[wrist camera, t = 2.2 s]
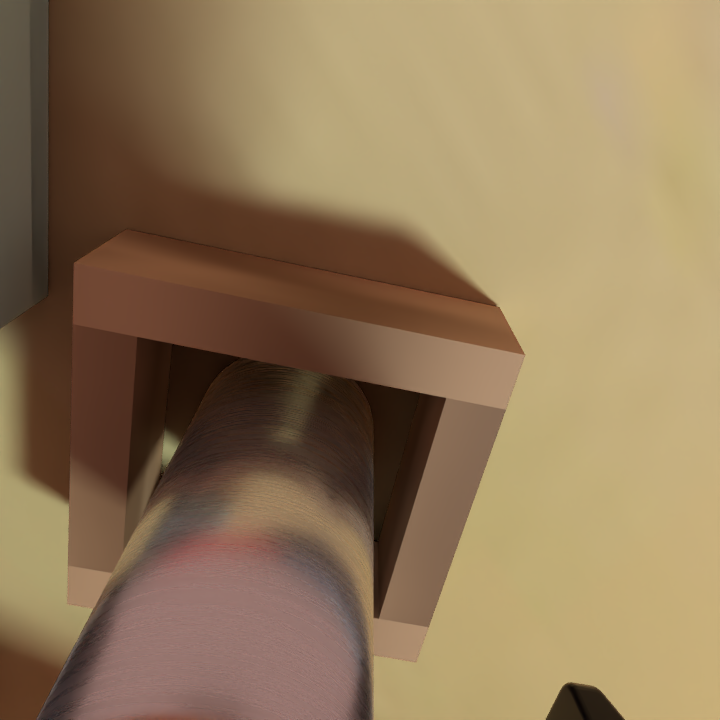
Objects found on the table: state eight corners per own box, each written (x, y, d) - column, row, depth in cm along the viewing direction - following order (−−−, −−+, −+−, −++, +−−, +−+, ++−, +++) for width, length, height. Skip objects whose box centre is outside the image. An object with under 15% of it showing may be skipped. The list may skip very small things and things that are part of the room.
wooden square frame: (110, 529, 14) (67, 604, 12) (126, 228, 11) (73, 263, 9) (410, 582, 15) (415, 662, 13) (499, 306, 12) (525, 354, 10)
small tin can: (177, 490, 14) (-110, 1106, 6) (196, 315, 12) (-182, 836, 4) (364, 524, 14) (352, 1156, 6) (409, 358, 12) (481, 927, 4)
